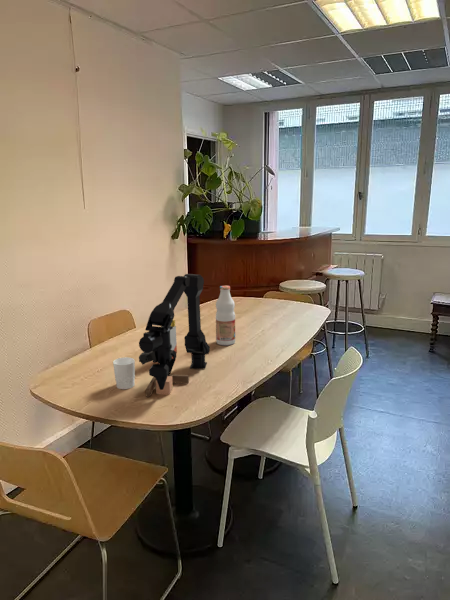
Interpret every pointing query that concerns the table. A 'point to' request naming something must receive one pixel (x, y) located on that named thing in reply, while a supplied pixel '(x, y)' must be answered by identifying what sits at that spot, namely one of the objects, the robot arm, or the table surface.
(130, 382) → the white cup
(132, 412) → the table surface
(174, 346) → the french fries container
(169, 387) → the light brown cube
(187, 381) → the walnut fence
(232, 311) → the fruit juice
